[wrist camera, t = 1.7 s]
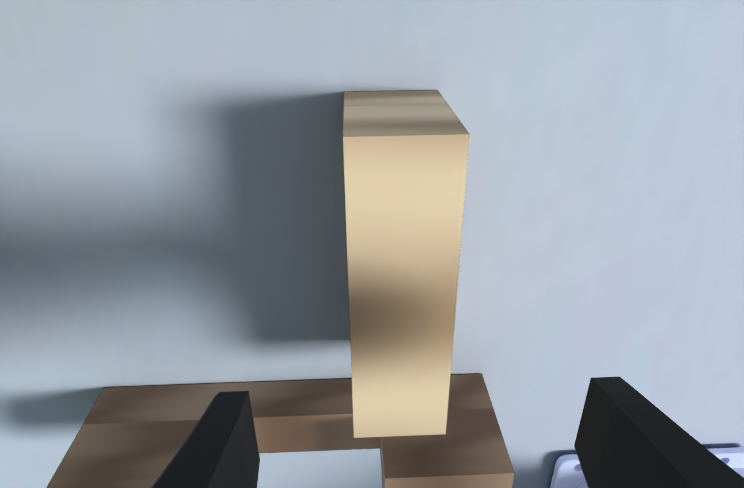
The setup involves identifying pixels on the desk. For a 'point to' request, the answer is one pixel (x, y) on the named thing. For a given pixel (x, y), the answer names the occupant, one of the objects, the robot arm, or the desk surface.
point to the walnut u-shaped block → (284, 433)
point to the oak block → (402, 256)
